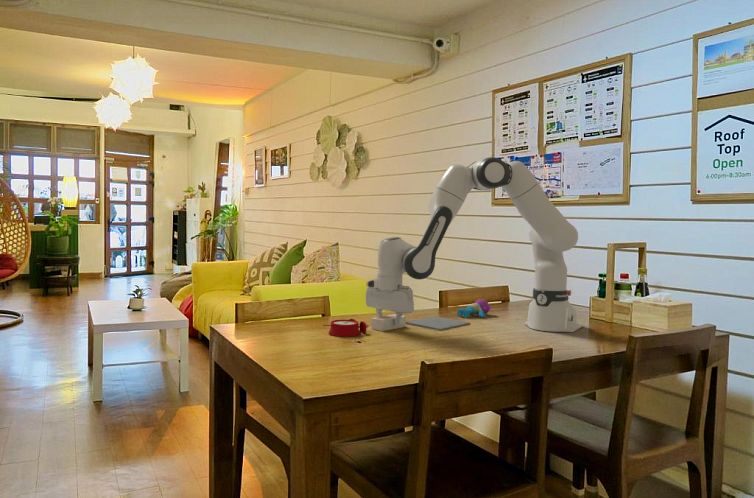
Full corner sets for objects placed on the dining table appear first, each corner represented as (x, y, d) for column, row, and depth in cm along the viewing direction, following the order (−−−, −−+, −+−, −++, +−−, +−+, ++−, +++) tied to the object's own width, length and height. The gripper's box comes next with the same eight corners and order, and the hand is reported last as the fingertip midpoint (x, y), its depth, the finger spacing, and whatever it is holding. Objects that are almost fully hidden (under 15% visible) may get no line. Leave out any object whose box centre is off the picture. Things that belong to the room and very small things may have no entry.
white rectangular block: (394, 325, 215) (395, 313, 215) (405, 327, 211) (405, 315, 211) (371, 329, 206) (371, 317, 206) (381, 331, 203) (382, 319, 203)
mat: (435, 317, 230) (435, 316, 230) (469, 324, 219) (470, 322, 219) (405, 323, 217) (405, 322, 217) (440, 330, 206) (440, 328, 206)
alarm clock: (319, 322, 197) (354, 308, 206) (322, 340, 198) (356, 325, 208) (338, 328, 189) (373, 313, 198) (342, 346, 190) (376, 330, 200)
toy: (474, 325, 228) (500, 314, 237) (473, 308, 227) (498, 298, 236) (452, 320, 238) (477, 310, 247) (450, 305, 237) (476, 295, 245)
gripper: (418, 286, 203) (417, 326, 204) (375, 280, 217) (374, 317, 218) (406, 287, 198) (405, 328, 199) (363, 281, 212) (362, 319, 213)
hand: (388, 322), depth 209 cm, fingers open, 6 cm apart
